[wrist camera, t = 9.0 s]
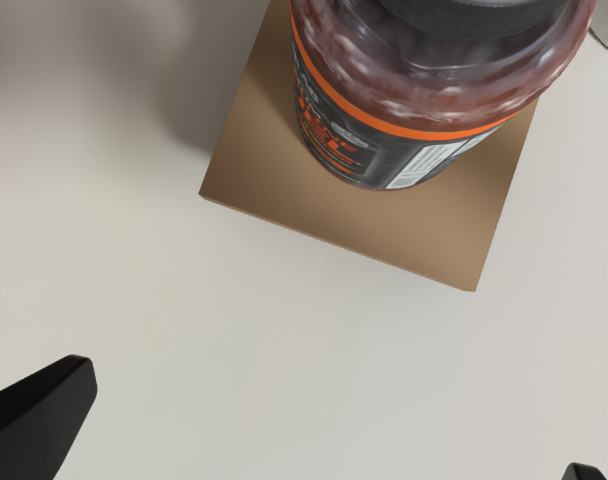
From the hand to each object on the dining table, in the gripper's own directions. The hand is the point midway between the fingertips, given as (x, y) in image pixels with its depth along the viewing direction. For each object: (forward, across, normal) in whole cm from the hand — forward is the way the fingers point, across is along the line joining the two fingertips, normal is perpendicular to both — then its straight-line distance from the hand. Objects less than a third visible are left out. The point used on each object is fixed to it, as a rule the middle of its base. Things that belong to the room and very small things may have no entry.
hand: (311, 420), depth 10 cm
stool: (+15, +1, 0) cm, 15 cm away
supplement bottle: (+12, 0, -2) cm, 12 cm away
